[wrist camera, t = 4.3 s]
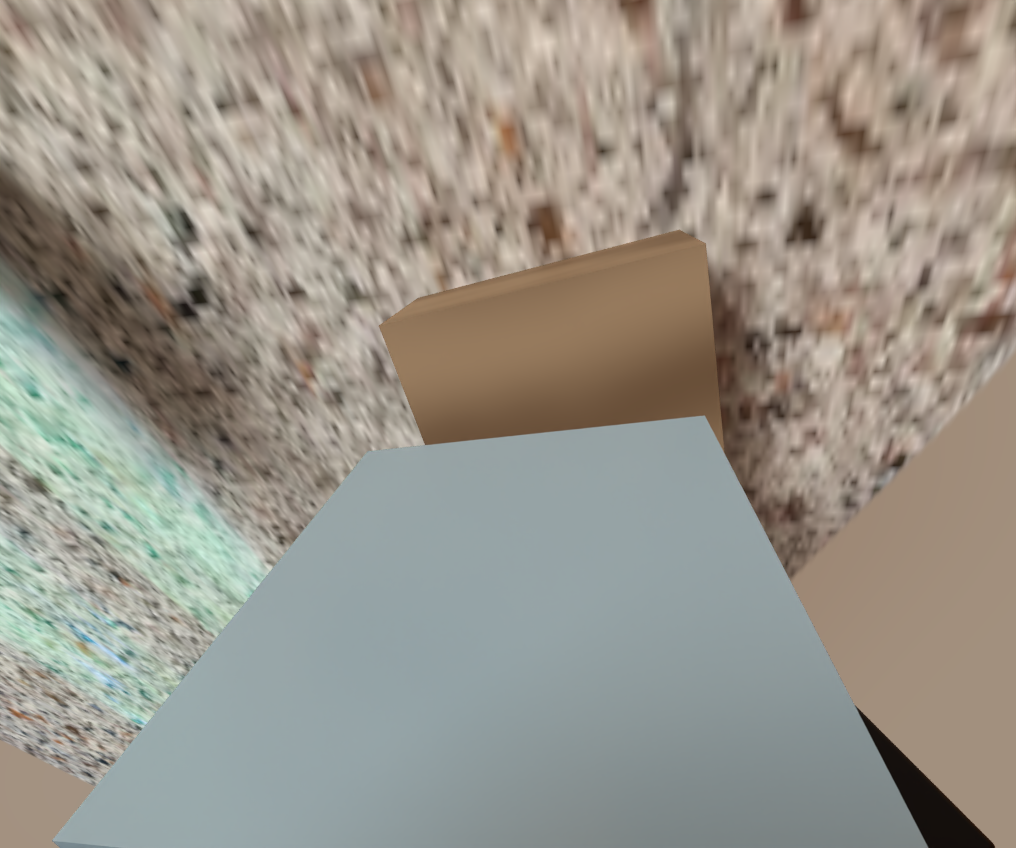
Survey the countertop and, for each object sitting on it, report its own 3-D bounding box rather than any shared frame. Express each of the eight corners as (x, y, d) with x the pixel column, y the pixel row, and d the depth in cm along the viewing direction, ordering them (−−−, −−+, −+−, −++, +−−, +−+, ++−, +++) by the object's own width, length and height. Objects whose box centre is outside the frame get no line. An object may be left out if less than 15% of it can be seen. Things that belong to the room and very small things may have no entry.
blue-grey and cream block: (709, 665, 10) (877, 1311, 4) (445, 665, 11) (302, 1163, 6) (704, 415, 8) (1085, 1151, 2) (367, 451, 9) (-40, 953, 3)
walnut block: (704, 465, 19) (731, 531, 15) (489, 496, 21) (469, 560, 17) (677, 229, 15) (705, 243, 12) (420, 296, 17) (379, 325, 14)
